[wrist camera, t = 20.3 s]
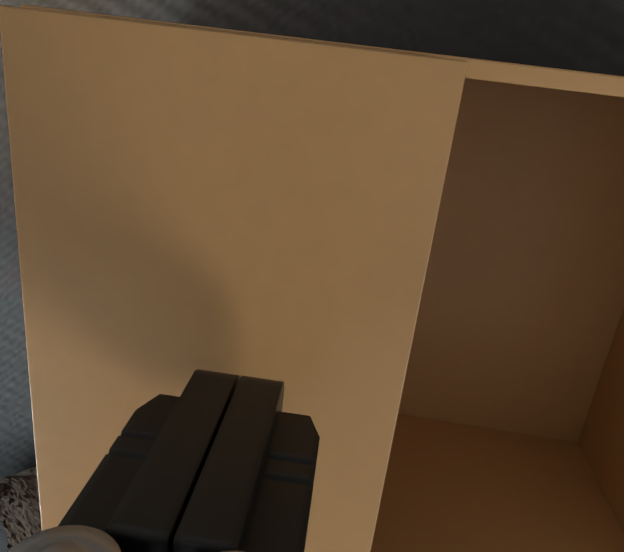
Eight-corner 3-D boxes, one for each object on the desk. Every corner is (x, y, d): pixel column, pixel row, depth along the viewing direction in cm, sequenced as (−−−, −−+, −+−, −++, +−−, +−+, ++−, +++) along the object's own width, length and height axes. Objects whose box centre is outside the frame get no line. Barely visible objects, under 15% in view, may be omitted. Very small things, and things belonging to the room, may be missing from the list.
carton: (164, 379, 20) (56, 539, 14) (170, 26, 16) (19, 4, 9) (581, 445, 19) (688, 652, 13) (705, 89, 15) (966, 117, 8)
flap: (50, 551, 13) (43, 563, 13) (8, 6, 9) (-3, 4, 9) (357, 605, 13) (357, 617, 13) (466, 61, 9) (468, 60, 8)
